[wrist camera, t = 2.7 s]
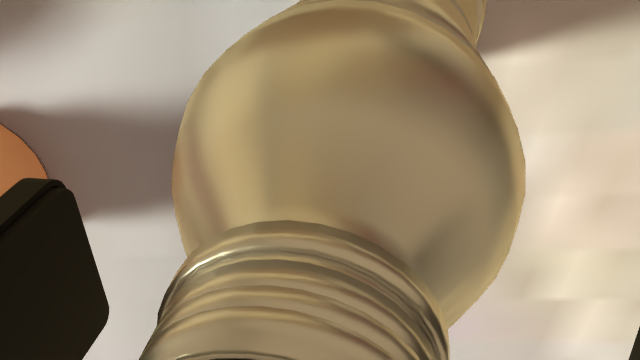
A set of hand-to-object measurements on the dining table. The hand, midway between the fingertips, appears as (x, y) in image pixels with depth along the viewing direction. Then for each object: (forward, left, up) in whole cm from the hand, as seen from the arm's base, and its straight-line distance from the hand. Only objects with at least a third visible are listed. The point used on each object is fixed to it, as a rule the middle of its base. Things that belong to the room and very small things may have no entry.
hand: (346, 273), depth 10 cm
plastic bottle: (0, 0, -17) cm, 17 cm away
